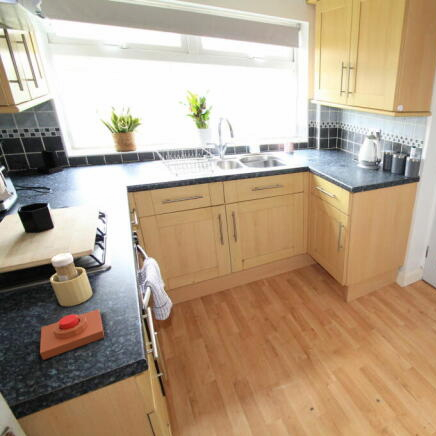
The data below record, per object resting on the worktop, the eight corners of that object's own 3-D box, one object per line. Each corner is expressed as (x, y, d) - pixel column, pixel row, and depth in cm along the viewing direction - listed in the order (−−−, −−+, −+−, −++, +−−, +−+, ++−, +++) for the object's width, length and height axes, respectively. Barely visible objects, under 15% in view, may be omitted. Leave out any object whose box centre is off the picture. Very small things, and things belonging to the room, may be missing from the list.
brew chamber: (59, 310, 89) (49, 286, 86) (59, 295, 95) (50, 272, 91) (93, 299, 94) (86, 276, 90) (91, 285, 99) (84, 264, 96)
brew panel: (43, 360, 74) (37, 347, 72) (44, 334, 81) (39, 321, 79) (104, 337, 81) (100, 325, 79) (100, 315, 88) (96, 303, 86)
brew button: (60, 332, 77) (58, 326, 76) (60, 323, 79) (58, 318, 79) (79, 325, 79) (77, 320, 78) (78, 317, 82) (76, 312, 81)
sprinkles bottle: (87, 294, 94) (74, 255, 89) (70, 302, 91) (54, 262, 85) (80, 289, 97) (67, 250, 91) (63, 297, 93) (47, 257, 88)
